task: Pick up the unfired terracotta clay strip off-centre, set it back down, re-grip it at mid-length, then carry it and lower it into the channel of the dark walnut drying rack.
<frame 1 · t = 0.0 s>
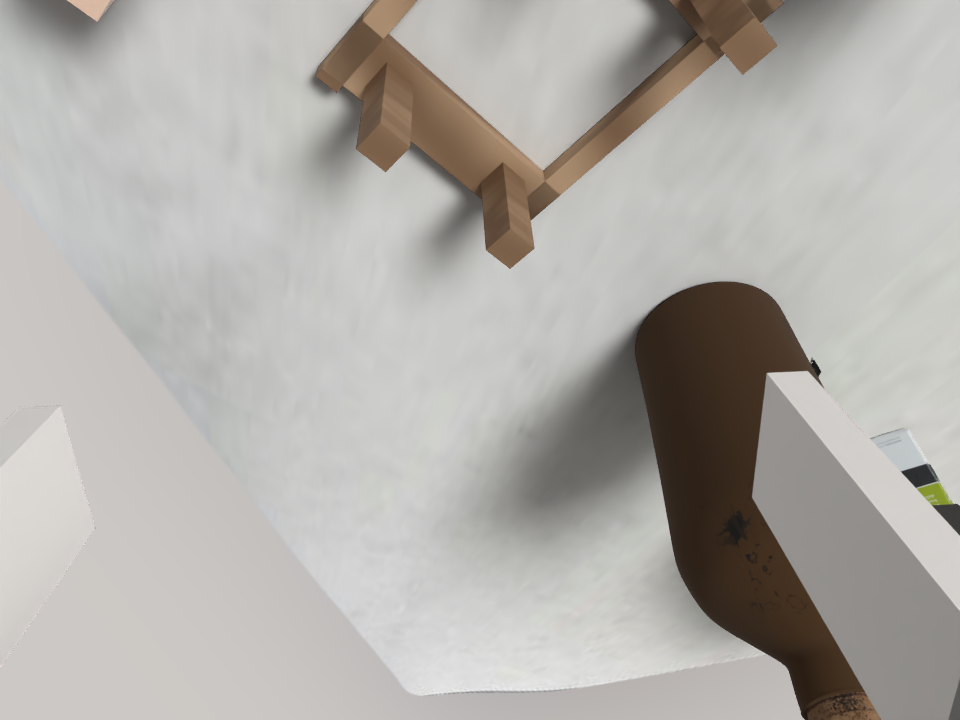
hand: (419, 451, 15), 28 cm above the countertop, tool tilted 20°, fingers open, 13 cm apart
rack: (542, 31, 38), on the countertop
olive oil: (707, 336, 52), on the countertop
tea box: (854, 496, 64), on the countertop
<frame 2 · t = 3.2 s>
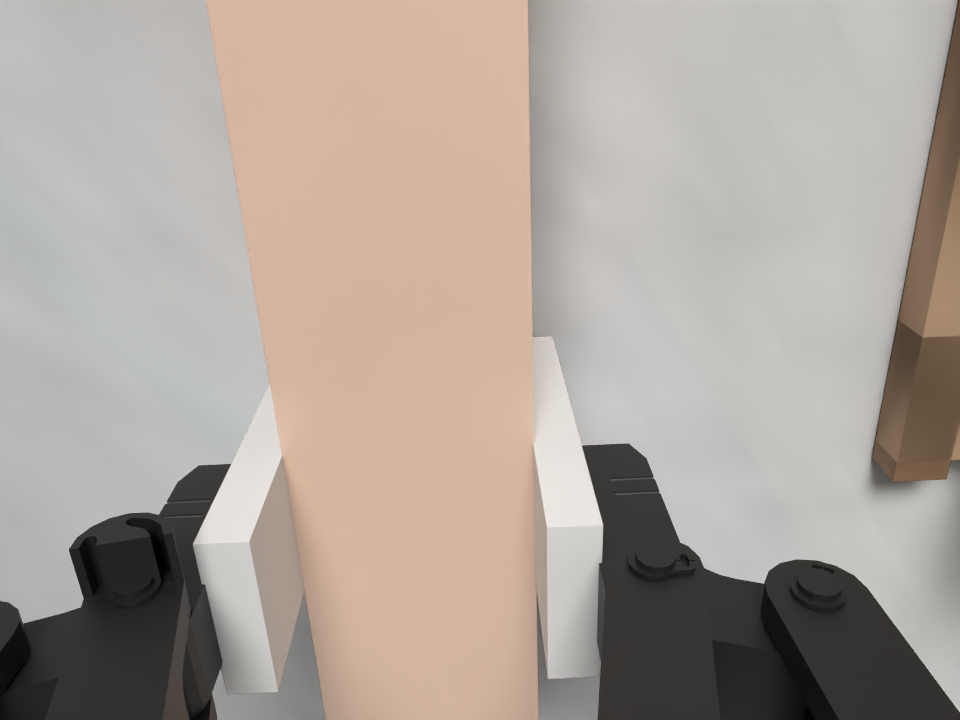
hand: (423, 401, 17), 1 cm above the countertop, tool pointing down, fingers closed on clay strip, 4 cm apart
clay strip: (411, 204, 16), on the countertop, touching gripper
when the fingers open (1 cm above the countertop, at t = 4.9 s): clay strip stays where it is, on the countertop.
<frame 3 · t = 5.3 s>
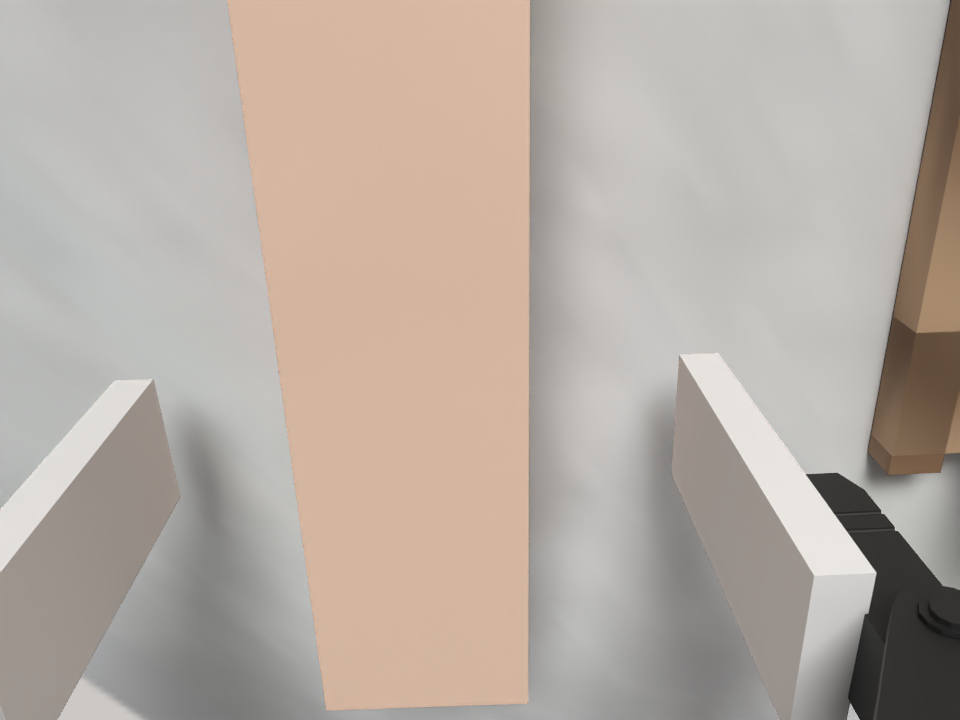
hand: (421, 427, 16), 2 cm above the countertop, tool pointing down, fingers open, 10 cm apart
clay strip: (414, 197, 17), on the countertop
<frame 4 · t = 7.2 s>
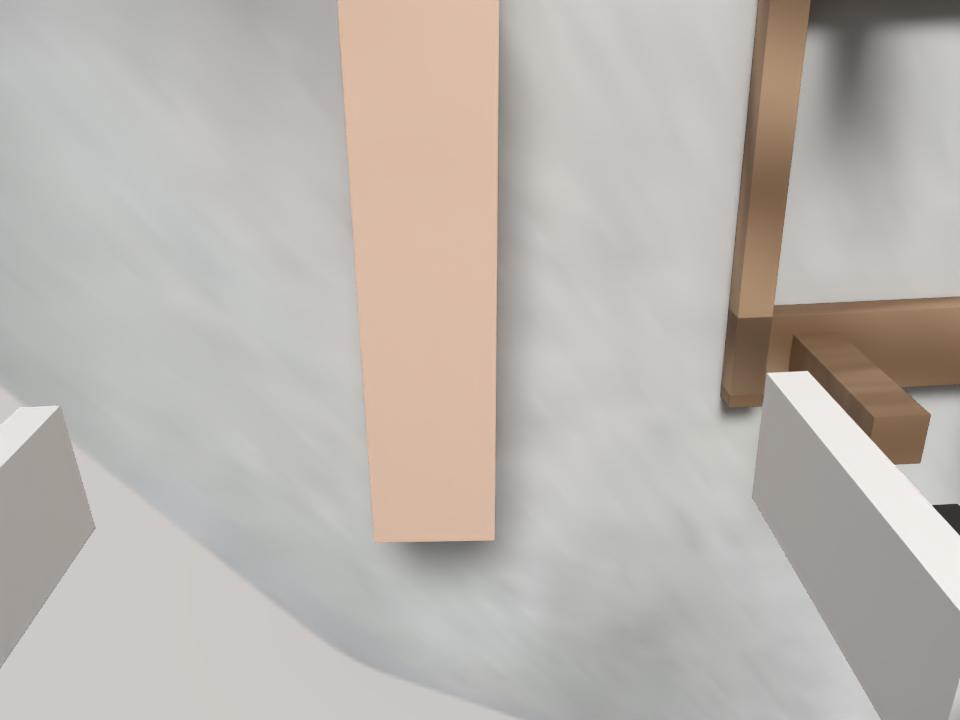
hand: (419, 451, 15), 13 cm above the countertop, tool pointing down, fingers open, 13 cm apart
rack: (941, 156, 27), on the countertop
clay strip: (431, 236, 28), on the countertop
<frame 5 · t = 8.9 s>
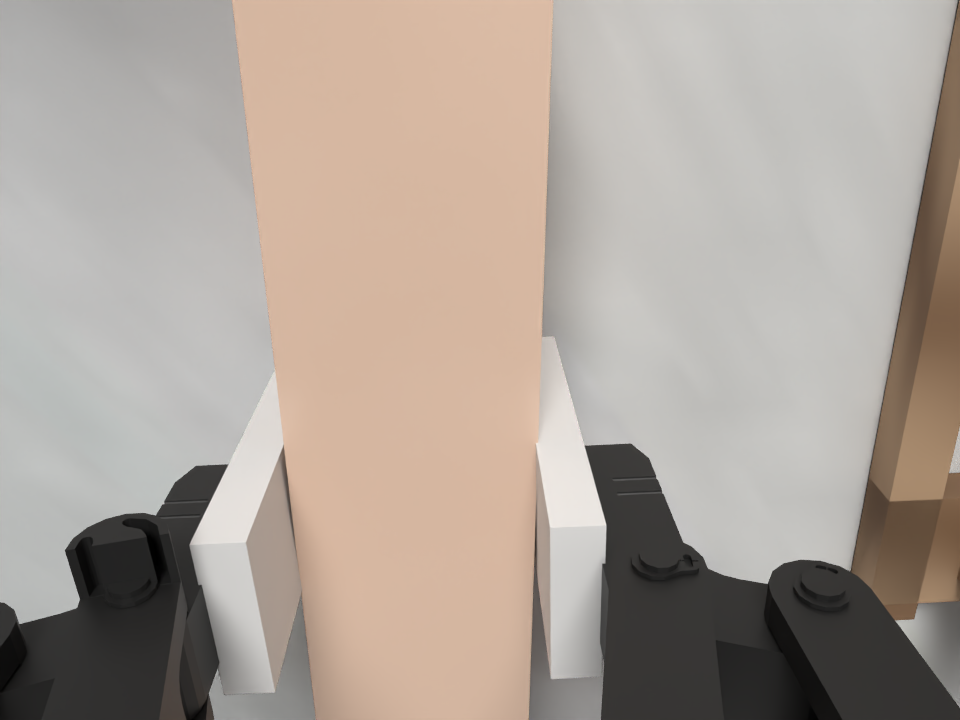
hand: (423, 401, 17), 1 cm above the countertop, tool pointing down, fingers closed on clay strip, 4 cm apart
clay strip: (425, 382, 18), on the countertop, touching gripper
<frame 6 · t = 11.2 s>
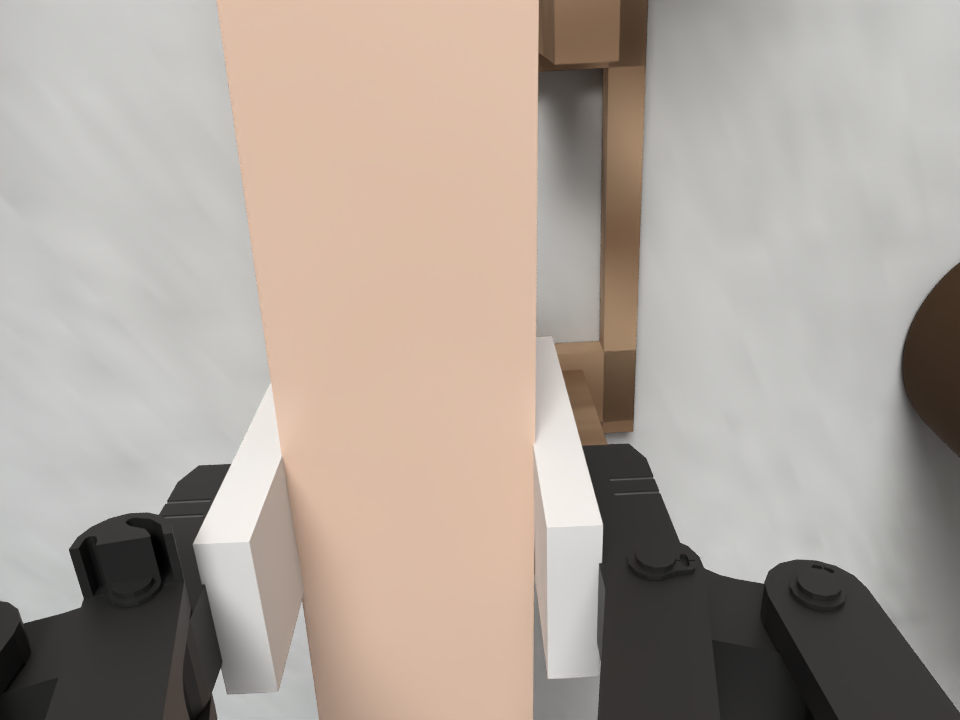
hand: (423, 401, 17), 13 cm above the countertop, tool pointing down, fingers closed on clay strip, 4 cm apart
rack: (450, 221, 29), on the countertop
clay strip: (424, 386, 18), point 12 cm above the countertop, touching gripper
when the fingers open (3 cm above the countertop, at t = 13.3 s): clay strip drops 1 cm, resting on rack.
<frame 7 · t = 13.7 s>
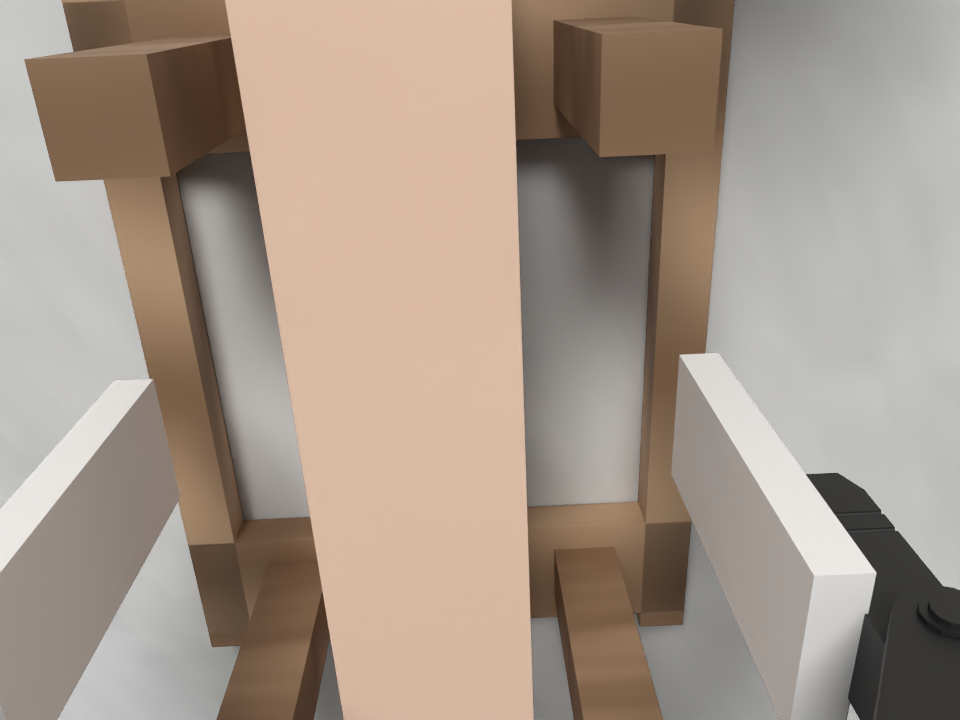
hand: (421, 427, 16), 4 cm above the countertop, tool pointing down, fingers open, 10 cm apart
rack: (428, 343, 20), on the countertop
clay strip: (425, 360, 19), point 1 cm above the countertop, touching rack
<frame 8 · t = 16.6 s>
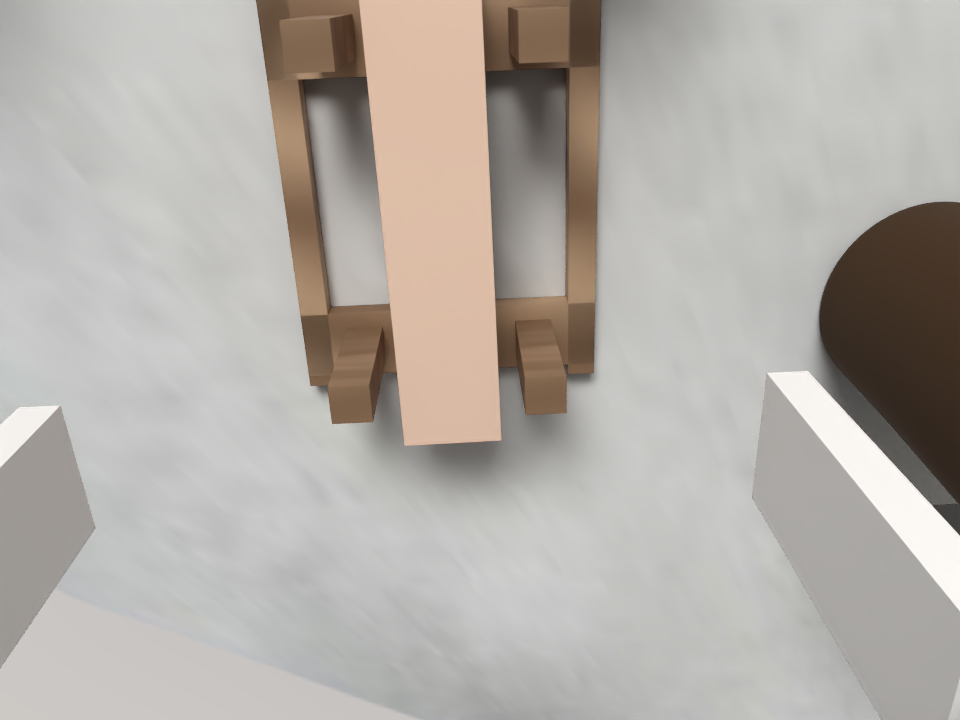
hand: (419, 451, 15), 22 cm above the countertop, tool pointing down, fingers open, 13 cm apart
rack: (441, 193, 35), on the countertop
olive oil: (918, 298, 38), on the countertop
clay strip: (440, 198, 34), point 1 cm above the countertop, touching rack
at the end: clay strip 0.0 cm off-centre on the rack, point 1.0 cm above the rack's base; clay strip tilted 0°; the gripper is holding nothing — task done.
